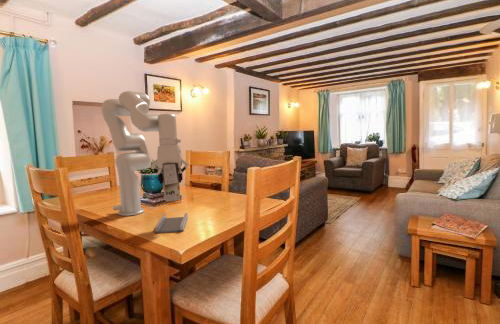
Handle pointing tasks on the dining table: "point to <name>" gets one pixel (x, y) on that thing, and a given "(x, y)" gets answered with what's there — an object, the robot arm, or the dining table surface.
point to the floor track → (171, 224)
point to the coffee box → (171, 181)
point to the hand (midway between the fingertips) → (170, 182)
